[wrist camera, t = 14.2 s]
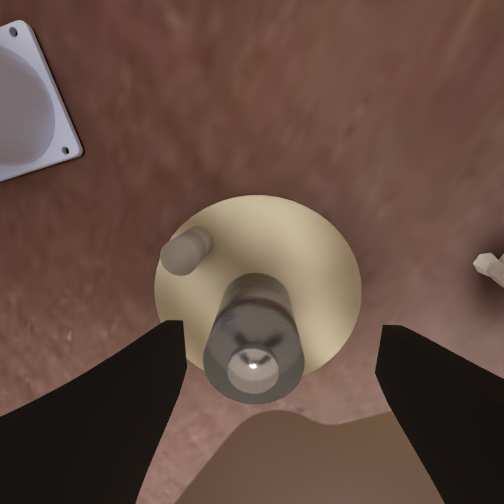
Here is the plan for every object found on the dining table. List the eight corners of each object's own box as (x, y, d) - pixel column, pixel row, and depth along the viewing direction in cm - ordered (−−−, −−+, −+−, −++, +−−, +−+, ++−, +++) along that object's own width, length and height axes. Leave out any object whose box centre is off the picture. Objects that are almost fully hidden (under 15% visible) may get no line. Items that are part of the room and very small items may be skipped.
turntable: (249, 404, 21) (245, 468, 17) (120, 286, 19) (71, 321, 14) (396, 304, 18) (444, 347, 13) (266, 145, 16) (268, 128, 11)
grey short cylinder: (260, 346, 19) (259, 430, 12) (208, 308, 18) (179, 376, 12) (304, 301, 17) (329, 369, 11) (251, 259, 17) (245, 304, 10)
